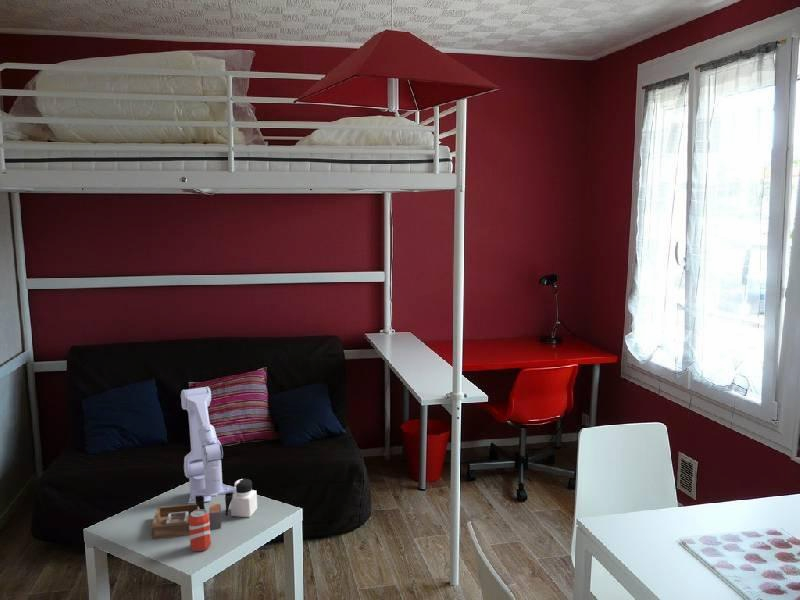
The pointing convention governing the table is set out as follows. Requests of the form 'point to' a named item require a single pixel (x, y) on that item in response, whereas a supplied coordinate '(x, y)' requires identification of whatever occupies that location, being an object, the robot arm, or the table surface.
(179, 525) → the walled box
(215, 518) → the rectangular block
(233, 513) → the medicine bottle
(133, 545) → the table surface
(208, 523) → the beverage can
